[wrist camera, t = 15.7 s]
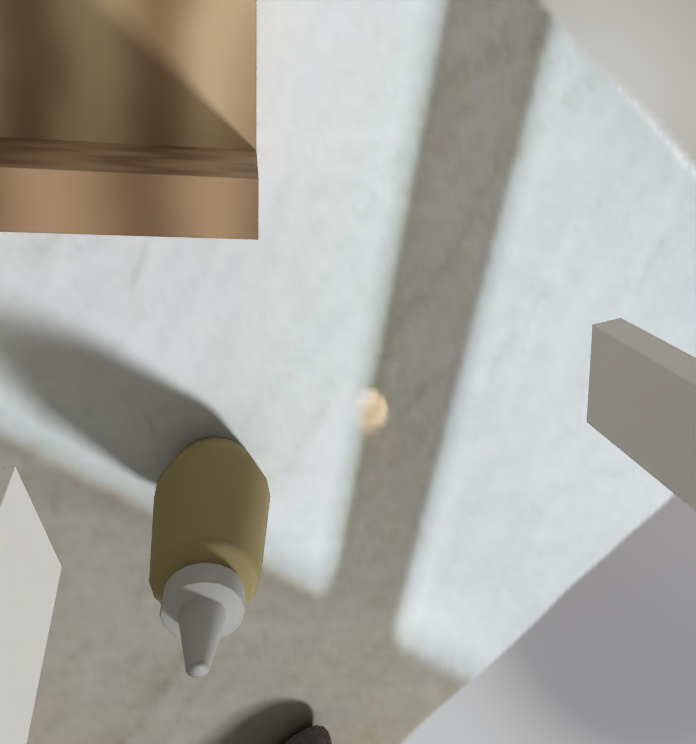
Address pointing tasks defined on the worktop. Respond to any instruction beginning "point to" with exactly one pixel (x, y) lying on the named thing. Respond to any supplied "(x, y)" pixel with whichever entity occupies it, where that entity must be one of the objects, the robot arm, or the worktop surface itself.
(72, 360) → the worktop surface
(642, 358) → the robot arm
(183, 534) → the squeeze bottle
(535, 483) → the worktop surface
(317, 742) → the perforated stone tool
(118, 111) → the wooden l-shaped piece
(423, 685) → the worktop surface
